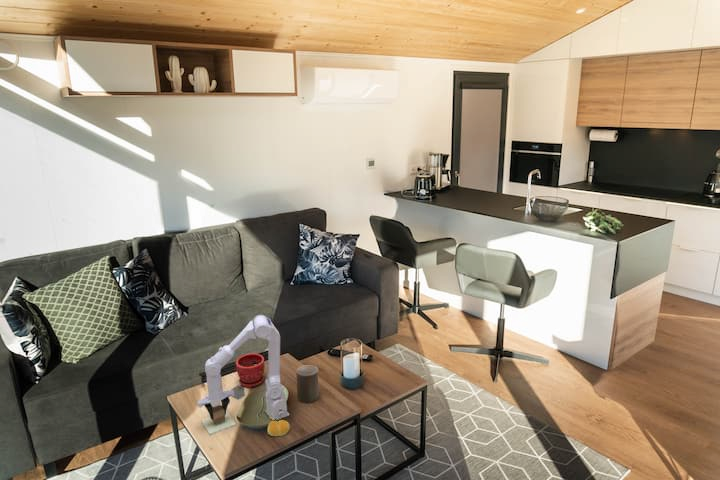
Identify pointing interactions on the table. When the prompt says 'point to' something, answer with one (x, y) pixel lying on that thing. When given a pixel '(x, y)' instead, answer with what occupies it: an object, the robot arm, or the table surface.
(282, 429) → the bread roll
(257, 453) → the table surface
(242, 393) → the grey metal block
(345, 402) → the table surface
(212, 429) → the plate
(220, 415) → the walnut block
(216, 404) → the white rounded dome
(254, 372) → the plant pot
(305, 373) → the pillar candle
